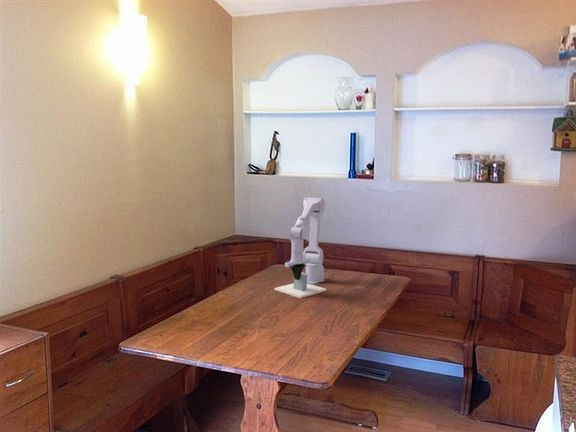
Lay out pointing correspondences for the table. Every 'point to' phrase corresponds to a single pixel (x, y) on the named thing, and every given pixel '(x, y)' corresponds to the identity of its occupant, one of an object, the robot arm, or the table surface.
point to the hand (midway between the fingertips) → (297, 279)
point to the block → (301, 282)
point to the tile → (299, 293)
